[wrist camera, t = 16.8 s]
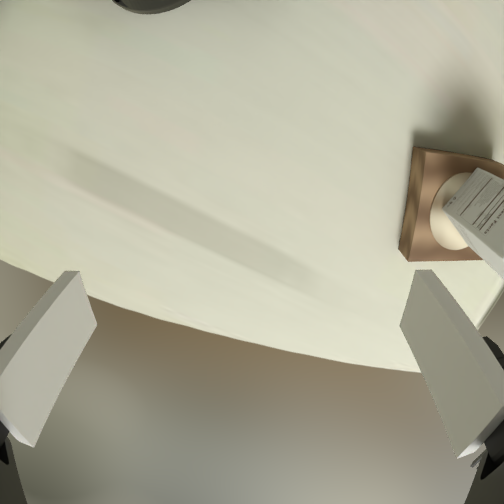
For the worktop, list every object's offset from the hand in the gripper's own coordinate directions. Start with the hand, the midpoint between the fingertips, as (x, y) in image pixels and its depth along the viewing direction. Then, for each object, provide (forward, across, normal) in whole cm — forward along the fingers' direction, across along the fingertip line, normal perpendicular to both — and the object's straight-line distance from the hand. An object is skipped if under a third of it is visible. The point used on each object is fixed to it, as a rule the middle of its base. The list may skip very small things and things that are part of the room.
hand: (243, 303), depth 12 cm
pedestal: (+32, +30, -6) cm, 44 cm away
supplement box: (+28, +32, -5) cm, 42 cm away
